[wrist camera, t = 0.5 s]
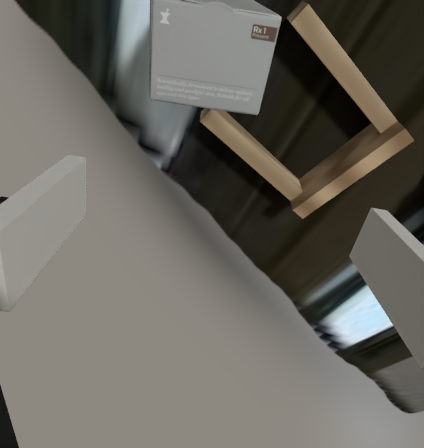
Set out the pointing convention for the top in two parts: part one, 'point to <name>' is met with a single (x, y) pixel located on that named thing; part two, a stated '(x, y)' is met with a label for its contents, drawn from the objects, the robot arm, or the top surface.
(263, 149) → the u rest
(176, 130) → the top surface
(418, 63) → the top surface
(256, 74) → the skincare box
